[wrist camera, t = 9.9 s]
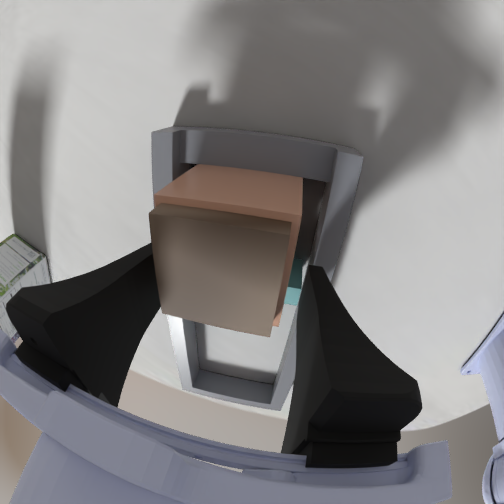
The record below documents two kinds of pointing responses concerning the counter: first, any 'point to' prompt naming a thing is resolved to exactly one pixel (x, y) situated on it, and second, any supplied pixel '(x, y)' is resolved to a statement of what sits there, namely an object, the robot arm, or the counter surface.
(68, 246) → the counter surface
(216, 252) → the tan cardboard cube box
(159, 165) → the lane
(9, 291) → the syrup box
